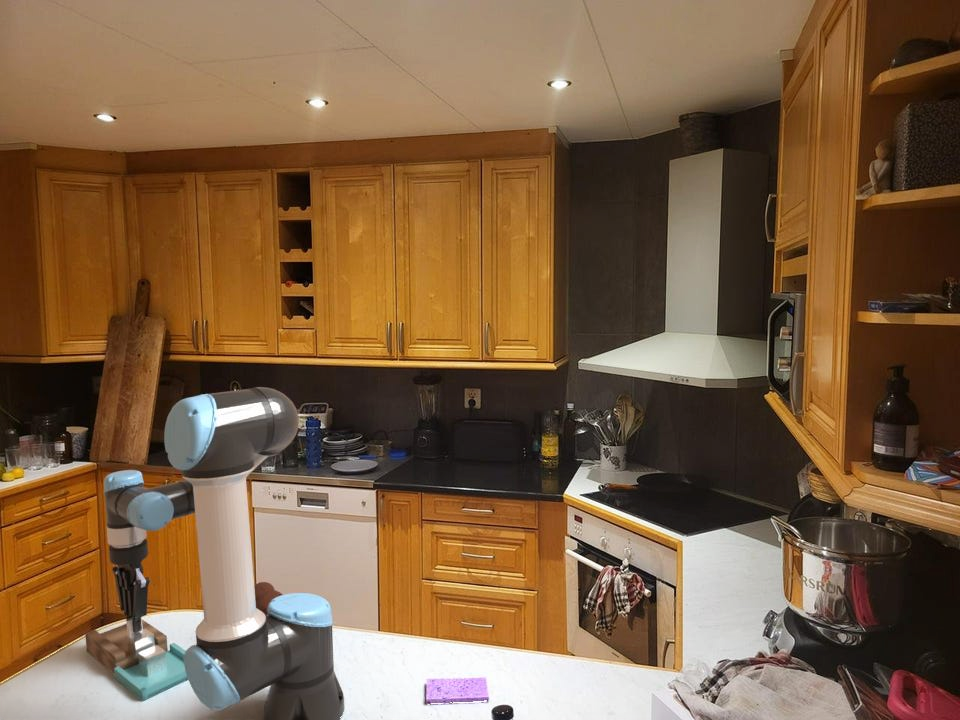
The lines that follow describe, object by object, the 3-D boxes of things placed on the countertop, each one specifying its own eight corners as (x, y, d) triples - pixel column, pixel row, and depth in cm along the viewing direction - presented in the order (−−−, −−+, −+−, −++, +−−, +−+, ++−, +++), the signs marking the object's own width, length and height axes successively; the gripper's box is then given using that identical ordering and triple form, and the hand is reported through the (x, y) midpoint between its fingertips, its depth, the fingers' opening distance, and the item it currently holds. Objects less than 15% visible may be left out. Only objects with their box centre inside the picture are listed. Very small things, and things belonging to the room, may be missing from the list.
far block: (155, 651, 148) (153, 634, 148) (136, 659, 145) (135, 641, 145) (146, 645, 151) (145, 628, 150) (128, 653, 148) (126, 635, 147)
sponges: (427, 686, 140) (426, 678, 140) (487, 684, 141) (487, 675, 140) (425, 707, 133) (425, 699, 133) (489, 705, 134) (489, 696, 134)
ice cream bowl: (230, 657, 151) (227, 593, 149) (260, 632, 162) (257, 572, 160) (271, 664, 148) (268, 599, 146) (299, 638, 159) (296, 577, 157)
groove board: (167, 654, 152) (166, 635, 152) (117, 676, 144) (115, 657, 143) (136, 632, 162) (134, 614, 162) (86, 651, 154) (85, 633, 154)
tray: (203, 672, 145) (203, 662, 145) (142, 701, 135) (141, 691, 135) (174, 651, 154) (173, 642, 153) (114, 677, 144) (113, 668, 143)
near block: (158, 662, 148) (166, 668, 145) (139, 670, 145) (148, 677, 142) (156, 644, 148) (165, 651, 145) (138, 652, 144) (146, 659, 142)
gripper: (159, 543, 146) (166, 646, 148) (132, 530, 154) (139, 627, 157) (123, 554, 140) (131, 661, 143) (97, 540, 148) (105, 641, 151)
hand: (135, 643), depth 150 cm, fingers closed
